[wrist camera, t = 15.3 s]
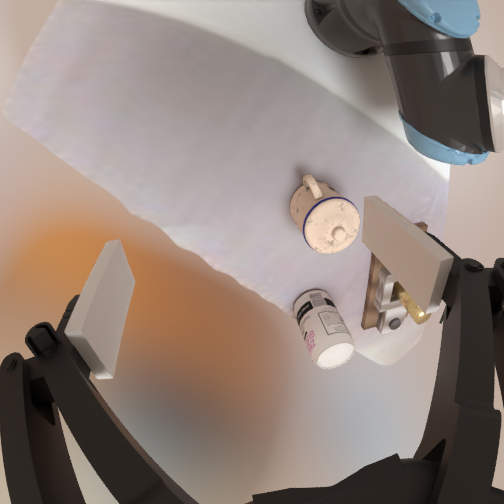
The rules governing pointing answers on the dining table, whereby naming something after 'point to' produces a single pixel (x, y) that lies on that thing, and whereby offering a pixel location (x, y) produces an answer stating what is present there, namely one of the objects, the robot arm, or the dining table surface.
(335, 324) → the supplement can
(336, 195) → the teacup with lid
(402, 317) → the pin insertion fixture
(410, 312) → the brass pin
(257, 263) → the dining table surface
